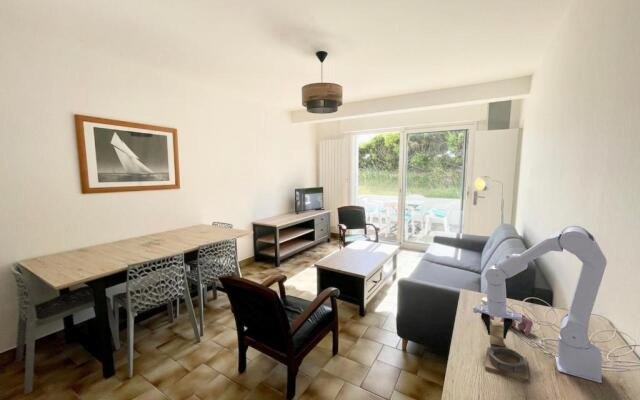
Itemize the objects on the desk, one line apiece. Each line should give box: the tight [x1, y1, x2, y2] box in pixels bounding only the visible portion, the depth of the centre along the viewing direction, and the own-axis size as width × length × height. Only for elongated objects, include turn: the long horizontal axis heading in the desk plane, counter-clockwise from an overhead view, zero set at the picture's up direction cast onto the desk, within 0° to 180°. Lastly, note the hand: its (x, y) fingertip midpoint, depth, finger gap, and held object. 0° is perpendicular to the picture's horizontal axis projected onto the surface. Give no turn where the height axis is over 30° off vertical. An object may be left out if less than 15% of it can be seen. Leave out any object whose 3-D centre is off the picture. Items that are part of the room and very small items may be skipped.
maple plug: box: [489, 319, 505, 347], centre depth 97 cm, size 4×4×7 cm
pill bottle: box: [480, 296, 495, 320], centre depth 113 cm, size 5×5×8 cm
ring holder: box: [484, 345, 530, 383], centre depth 86 cm, size 11×11×3 cm
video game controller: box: [499, 311, 534, 337], centre depth 105 cm, size 10×5×7 cm, turn 35°
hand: (496, 335), depth 97 cm, fingers closed on maple plug, 4 cm apart
